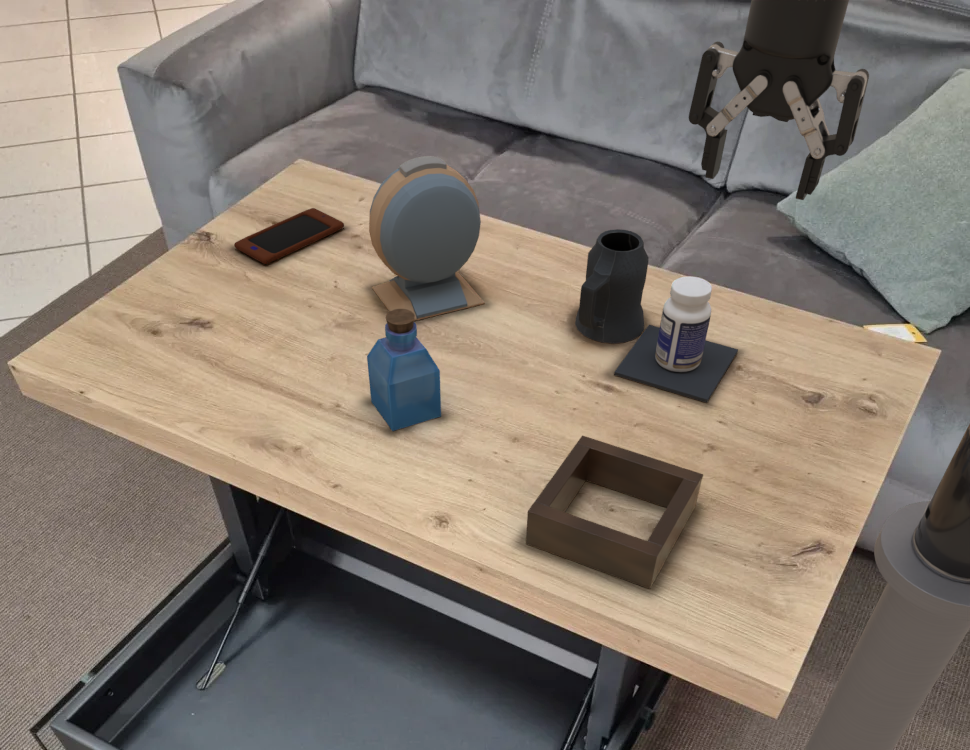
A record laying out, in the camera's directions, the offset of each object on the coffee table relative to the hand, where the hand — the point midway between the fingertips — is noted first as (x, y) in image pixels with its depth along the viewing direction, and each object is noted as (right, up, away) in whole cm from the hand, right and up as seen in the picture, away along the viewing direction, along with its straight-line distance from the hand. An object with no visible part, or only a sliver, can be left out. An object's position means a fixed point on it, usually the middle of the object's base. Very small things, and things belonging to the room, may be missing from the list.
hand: (756, 185), depth 86 cm
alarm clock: (-33, +5, +40) cm, 52 cm away
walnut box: (-12, -30, +12) cm, 34 cm away
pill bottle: (-1, -7, +30) cm, 31 cm away
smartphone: (-53, +16, +49) cm, 74 cm away
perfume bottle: (-34, -15, +24) cm, 44 cm away
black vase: (-10, -1, +35) cm, 37 cm away
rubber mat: (-1, -7, +30) cm, 31 cm away
